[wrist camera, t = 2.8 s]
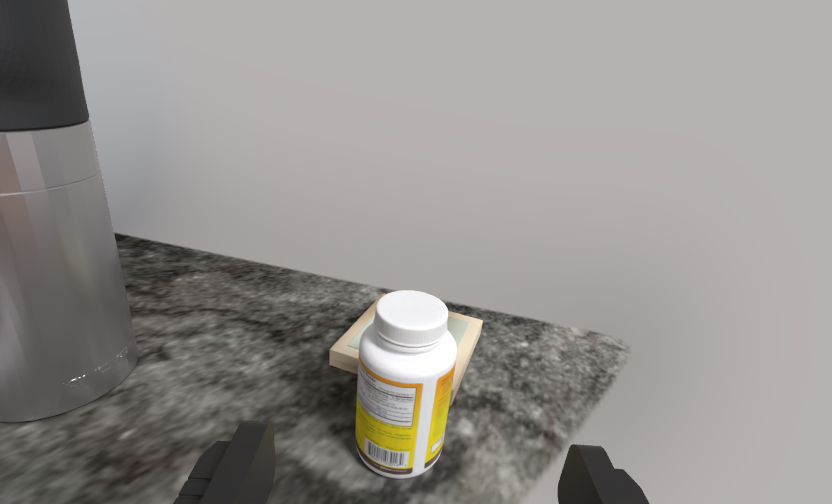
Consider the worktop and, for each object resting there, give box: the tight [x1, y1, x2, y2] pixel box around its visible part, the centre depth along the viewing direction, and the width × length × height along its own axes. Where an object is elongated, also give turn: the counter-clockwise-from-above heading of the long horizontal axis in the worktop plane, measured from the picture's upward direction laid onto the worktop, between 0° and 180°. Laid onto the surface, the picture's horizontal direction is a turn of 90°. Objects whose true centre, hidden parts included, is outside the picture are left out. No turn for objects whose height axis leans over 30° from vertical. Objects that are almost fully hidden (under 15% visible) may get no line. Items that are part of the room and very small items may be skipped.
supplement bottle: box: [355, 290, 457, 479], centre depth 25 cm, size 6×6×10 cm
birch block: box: [329, 293, 483, 406], centre depth 36 cm, size 10×10×2 cm
